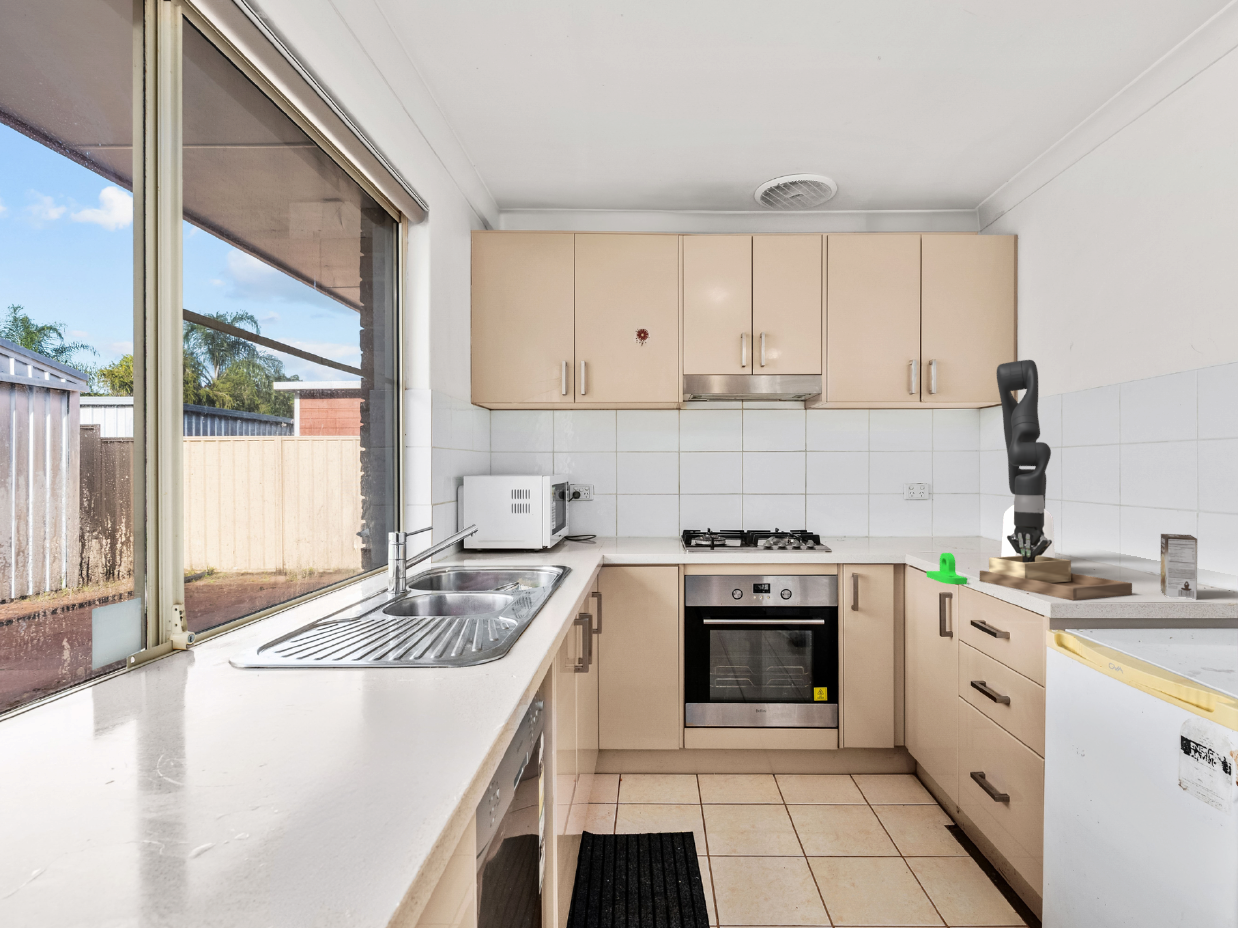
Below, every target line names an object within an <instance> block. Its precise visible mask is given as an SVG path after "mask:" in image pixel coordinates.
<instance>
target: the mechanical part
mask: <svg viewBox="0 0 1238 928" xmlns="http://www.w3.org/2000/svg"><path fill="white" fill-rule="evenodd" d="M926 578H929V579H931V580H934V581H937V582H938V583H942V584H946V585H967V584H968V578H967V577H964V576H962V575H959V574H957V572H956V557H955V556H954V554H953V553H952V552H942V553H941V554H940V556H939V570H926Z"/></svg>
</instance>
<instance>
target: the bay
mask: <svg viewBox="0 0 1238 928" xmlns="http://www.w3.org/2000/svg"><path fill="white" fill-rule="evenodd" d="M979 582H981V583H982V582H983V583H987V584H992V585H997V586H1002V587H1006V588H1011V589H1016V590H1021V591H1024V592H1025V591H1026V592H1030V593H1036V594H1040V595H1045V596H1050V597H1055V598H1060V599H1063V600H1064V599H1065V600H1069V601H1081V600H1090V599H1101V598H1104V599H1105V598H1113V597H1114V598H1115V597H1123V596H1133V583H1132V582H1128V581H1127V582H1126V581H1122V580H1115V579H1109V578H1102V577H1099V576H1098V577H1097V576H1091V575H1085V574H1080V573H1074V572H1071V581H1066V582H1054V583H1047V582H1041V581H1036V580H1031V579H1025V578H1020V577H1015V576H1009V575H1004V574H999V573H993V572H989V570H988V571H987V570H979Z"/></svg>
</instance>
